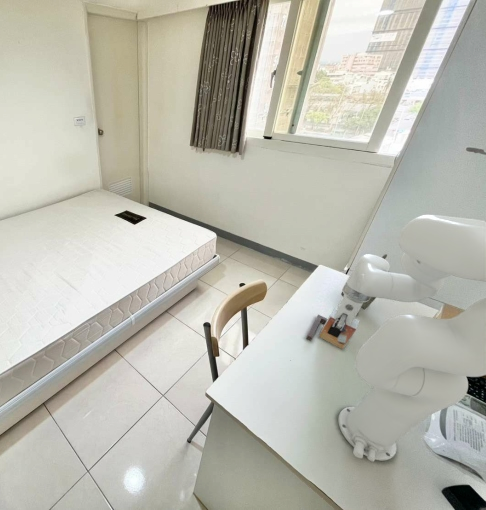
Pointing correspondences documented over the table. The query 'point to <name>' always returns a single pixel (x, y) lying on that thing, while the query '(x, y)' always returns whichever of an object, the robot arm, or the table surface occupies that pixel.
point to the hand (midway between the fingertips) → (335, 327)
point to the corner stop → (315, 325)
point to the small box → (343, 336)
